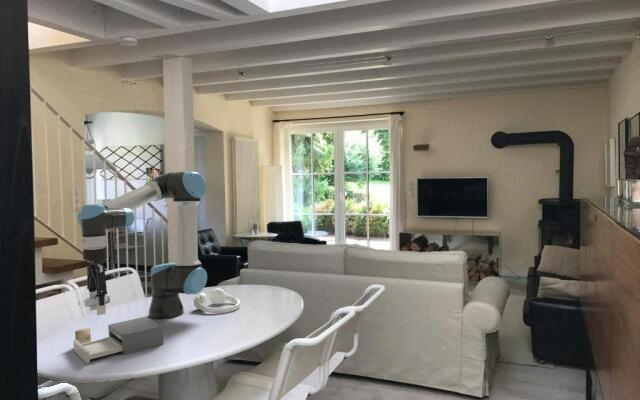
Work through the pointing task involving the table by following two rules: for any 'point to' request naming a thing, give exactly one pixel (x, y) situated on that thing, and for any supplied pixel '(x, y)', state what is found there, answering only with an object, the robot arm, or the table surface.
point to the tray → (97, 348)
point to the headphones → (215, 301)
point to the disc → (92, 301)
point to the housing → (137, 334)
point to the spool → (83, 335)
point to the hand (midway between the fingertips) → (97, 311)
